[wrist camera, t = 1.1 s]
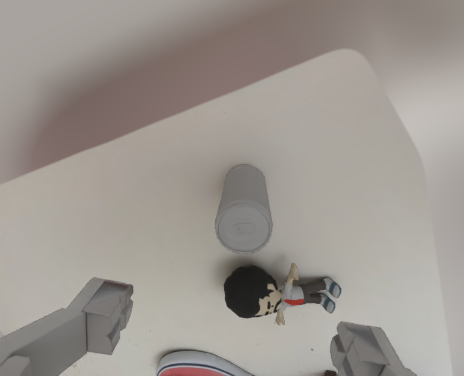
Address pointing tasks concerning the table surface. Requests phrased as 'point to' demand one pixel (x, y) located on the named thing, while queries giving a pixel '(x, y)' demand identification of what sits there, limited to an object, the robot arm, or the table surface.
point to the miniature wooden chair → (330, 373)
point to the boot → (197, 365)
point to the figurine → (273, 293)
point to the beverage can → (244, 211)
